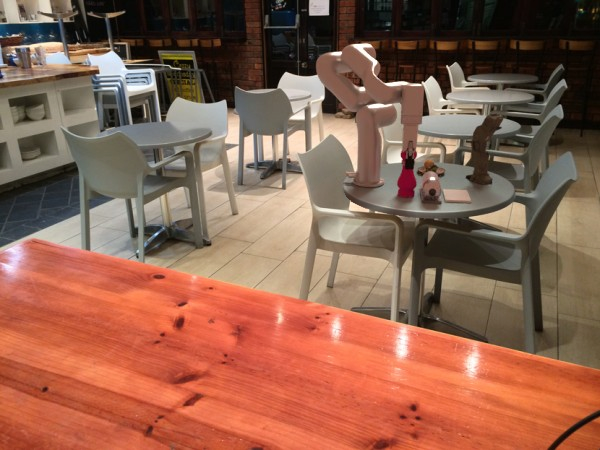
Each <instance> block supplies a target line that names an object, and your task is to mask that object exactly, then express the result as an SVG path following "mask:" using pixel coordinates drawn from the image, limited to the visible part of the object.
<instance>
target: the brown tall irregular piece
mask: <svg viewBox="0 0 600 450" xmlns="http://www.w3.org/2000/svg"><path fill="white" fill-rule="evenodd" d="M503 121H504V117H503V116H502V115H501V116H500V115H498V113H497V112H496V113H495V112H494V113H490V114H488V115H486V117H484V119H483V122H482V123H481V124H480V125H478V126H476V127H475V129H474V131H473V133H472V140H471V141H470V144H471V145H470V146H471V155H472V165H473V170H472V173H471V174H467V175H466V176H465V179H468V180H469V181H473V182H474V183H477V184H480V185H486V184H487V185H488V184H490V183H492V182H493V178H492V177H491V175H490V173H489V171H488V164H489V160H490V153H489V152H488V151H487V150H486V149H487V147H488V146H487V143H488V142H490V139H491V138H492V137H493V135H494V134H495V133H496V132H497V131H500V130H502V129H503V127H502V126H501V125H502V123H503Z"/></svg>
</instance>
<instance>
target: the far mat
mask: <svg viewBox="0 0 600 450" xmlns="http://www.w3.org/2000/svg"><path fill="white" fill-rule="evenodd" d="M442 194H443V198H444V202H445V203H460V204H461V203H466V204H472V199H471V197H470V194H469V192H468V189H451V188H450V189H449V188H448V189H447V188H446V189H445V188H443V189H442Z"/></svg>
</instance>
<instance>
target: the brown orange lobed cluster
mask: <svg viewBox="0 0 600 450" xmlns="http://www.w3.org/2000/svg"><path fill="white" fill-rule="evenodd" d="M424 161H425V160H424ZM428 171H432V172H435V173H436V174H437V175H438V178H439V177H440V178H441V176H442V174H444V173H446V169H445V168H443V167H439V166H438V165H437V164H435V162H434V161H433V160H432V159H426V161H425V162H424V163H423V166H420V167H418V168H417V174H418V173H419V174H421V175H420V176H422V175H423V174H424V173H426V172H428ZM419 174H418V175H419Z"/></svg>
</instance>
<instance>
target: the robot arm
mask: <svg viewBox="0 0 600 450" xmlns="http://www.w3.org/2000/svg"><path fill="white" fill-rule="evenodd" d="M376 58H377V53H376V50H375V48H374V47H373V46H372V44H370V43H352V44H348V45H347V46H344V48H343V49H342V50H341V51H332V52H331V51H330V52H325V53H323V54H321V55H320V56H319V57H318V58H317V60H316V63H315V70H316V74H317V77H318V79H319V81H320V83H322V85H323V86H324V87H325V89H327V90H328V91H330V93H332V95H333V96H335V97H336V99H338V101H339V102H340V103H341V104H342V105H343V106H344V107H345V108H346V109H347V110H348V111H350V112H352V113H356V115H355V123H356V124H355V125H356V129H357V159H356V160H357V166H356V167H357V168H356V171H353V172H351V171H346V174H345V175H346V177H347V178H349V179H353V180H352V182H353V184H354V185H355V186H358V187H362V188H376V187H380V186H383V185H384V183H385V180H384V178H383V177H381V173H382V154H383V153H382V151H383V150H382V146H383V139H382V136H381V133H380V130H379V129H381V128H385V127H389V126H392V125H393V124H394V123H395V122H396V121H397V120H398V119H397V118H398V111H397V108H396V106H395V105H394V104H399V103H401V104H400V105H401V106H400V124H401V125H403V126H402V138H401V139H402V142H401V151H403V152H404V151H406V158H405V169H411V170H413V171H414V169H415V165H414V152H416V151H417V146H418V137H419V125H422V124H423V112H424V97H425V96H424V95H425V93H424V92H425V87H424V84H421V83H413V82H412V83H411V82H408V81H399V80H398V81H394V82H393V81H392V82H386V83H385V82H383V81H382V80H381V79H380V78H378V76H379V74H380V72H381V64H380V63H379V61H378V60H377V59H376ZM352 72H353V73H354V74H355V75H356V76H357V77H359V78H360V79H361V80H362V84H363V86H357V85H355V84H354V83H353V82H352V81H351V79H349V78H348V77H347V76H345V75H343V74H345V73H352Z"/></svg>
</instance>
